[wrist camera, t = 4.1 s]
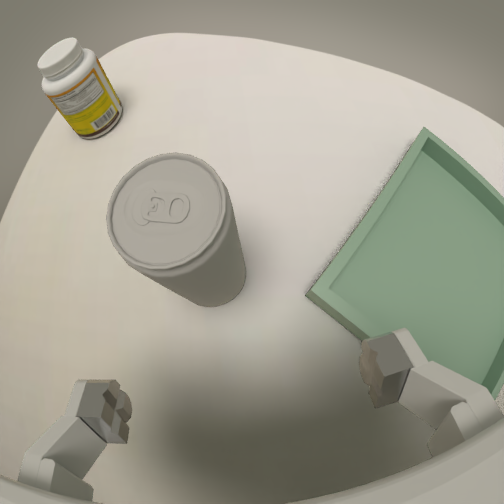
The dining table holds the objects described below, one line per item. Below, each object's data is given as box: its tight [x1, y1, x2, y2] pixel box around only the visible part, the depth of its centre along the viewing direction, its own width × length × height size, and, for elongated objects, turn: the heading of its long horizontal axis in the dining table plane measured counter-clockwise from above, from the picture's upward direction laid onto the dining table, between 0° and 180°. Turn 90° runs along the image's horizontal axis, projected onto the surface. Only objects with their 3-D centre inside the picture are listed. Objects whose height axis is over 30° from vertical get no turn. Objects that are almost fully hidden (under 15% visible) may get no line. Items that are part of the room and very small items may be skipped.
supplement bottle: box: [38, 38, 122, 139], centre depth 22 cm, size 6×6×10 cm
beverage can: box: [106, 153, 246, 307], centre depth 16 cm, size 5×5×12 cm
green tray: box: [305, 127, 504, 401], centre depth 20 cm, size 18×18×3 cm
